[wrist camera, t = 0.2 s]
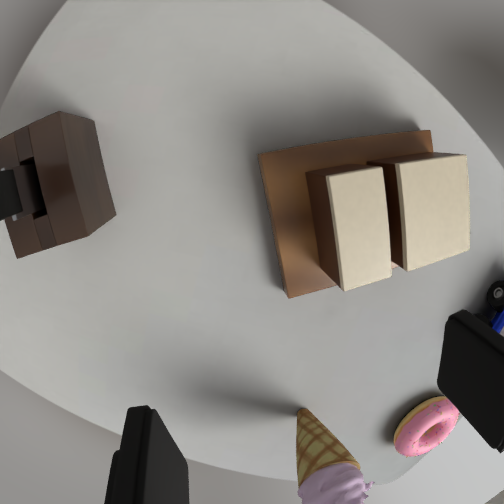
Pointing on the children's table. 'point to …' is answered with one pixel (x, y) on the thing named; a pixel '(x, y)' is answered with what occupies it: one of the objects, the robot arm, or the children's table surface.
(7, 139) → the knife block
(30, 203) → the knife
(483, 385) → the robot arm
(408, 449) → the doughnut
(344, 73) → the children's table surface
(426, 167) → the cake
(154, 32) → the children's table surface
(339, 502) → the ice cream cone
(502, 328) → the toy car
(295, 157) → the cutting board
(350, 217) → the cake slice
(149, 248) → the children's table surface
